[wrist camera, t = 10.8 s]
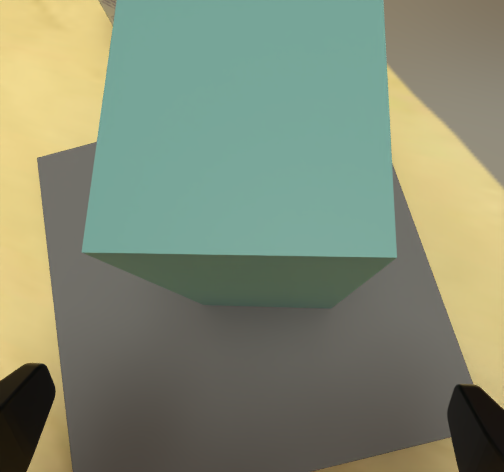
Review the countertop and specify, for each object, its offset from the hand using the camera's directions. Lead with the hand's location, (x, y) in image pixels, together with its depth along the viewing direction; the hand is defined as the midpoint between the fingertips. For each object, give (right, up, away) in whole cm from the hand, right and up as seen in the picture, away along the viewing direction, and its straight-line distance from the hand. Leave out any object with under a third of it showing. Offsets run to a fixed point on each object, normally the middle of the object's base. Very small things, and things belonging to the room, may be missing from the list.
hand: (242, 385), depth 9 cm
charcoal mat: (-1, +1, +11) cm, 11 cm away
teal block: (+1, +3, +11) cm, 11 cm away
